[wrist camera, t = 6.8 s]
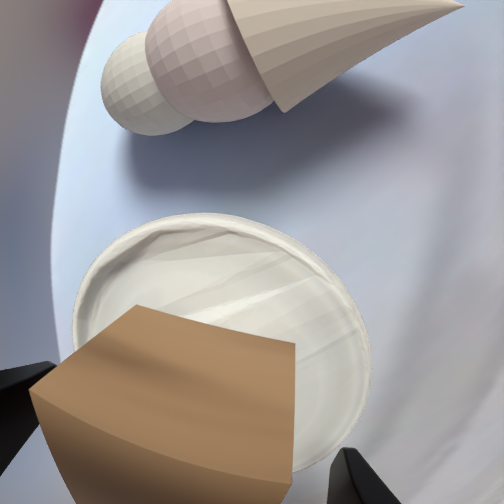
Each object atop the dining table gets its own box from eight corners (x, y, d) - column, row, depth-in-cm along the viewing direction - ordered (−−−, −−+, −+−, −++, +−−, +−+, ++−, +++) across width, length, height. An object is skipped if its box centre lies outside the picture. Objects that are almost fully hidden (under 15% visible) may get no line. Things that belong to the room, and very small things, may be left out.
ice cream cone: (442, 51, 10) (168, 125, 15) (413, -59, 6) (111, 36, 11) (515, 104, 6) (128, 199, 11) (493, -62, 2) (36, 81, 7)
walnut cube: (261, 450, 10) (241, 561, 5) (137, 415, 10) (76, 504, 5) (295, 343, 9) (291, 483, 4) (136, 304, 9) (28, 389, 4)
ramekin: (193, 159, 13) (138, 144, 8) (395, 294, 13) (441, 346, 8) (104, 337, 16) (49, 383, 11) (264, 437, 16) (253, 506, 11)
